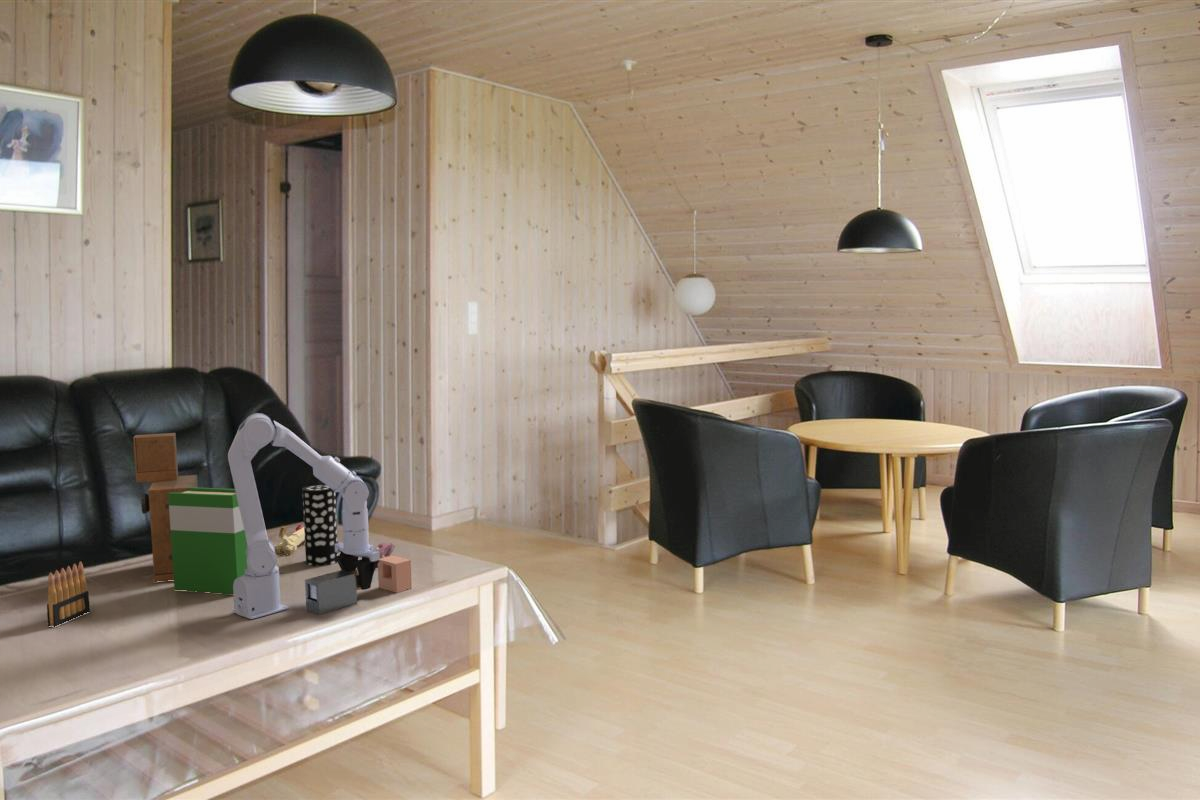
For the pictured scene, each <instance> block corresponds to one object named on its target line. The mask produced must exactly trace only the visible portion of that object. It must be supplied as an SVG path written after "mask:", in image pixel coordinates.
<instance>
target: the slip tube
mask: <svg viewBox="0 0 1200 800" xmlns="http://www.w3.org/2000/svg"><path fill="white" fill-rule="evenodd" d="M351 572H352V573H356V591H361V586H360V579H359V573H358V570H357V569H356V570H355V571H351ZM376 582H377V583H378V570H376V569H375V571H374V574H373V578H372V582H371V584H372V583H376ZM310 597H311V598H314V599H317V593H316V586H314V585H311V584H310Z"/></svg>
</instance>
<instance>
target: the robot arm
mask: <svg viewBox="0 0 1200 800" xmlns="http://www.w3.org/2000/svg"><path fill="white" fill-rule="evenodd" d="M273 423H274V424H273ZM269 443H270V444H271V446H273V447H283V448H286V449H287V450H288V451H290V452H291V453H292V454H294V455H295V456H297V457H299V459H301V460H303V462H305V463H306V464H308V465H309V466H310V467H312V472H313V473H312V475H313V476H314V477H315V478H316V479H318V480H319V481H320V482H322V483H323V485H327V486H328V487H330V488H331V489H332V490H334V491H335V493H339V494H340V496H341V497H342V510H341V514H342V518H341V519H342V535H343V536H342V537H343V538H342V539H343V541H341V542H338V543H337V544H335V552H338V553H339V554H338V556H335V560H336V561H337V562H336V563H337V564H338V566H339V568H340V570H345V571H349V572H351V571H355V570H358V573H359V579H360V586H361V590H362V591H365V590H368V589H369V590H370V589H371V587H372V583H371V582H372V578H373V574H374V571H375V570H376V568H377V567H378V566H377V564H378V563H379V560H380V556H379V552H378V551H376V550H375V549H374V545H373V544H370V536H369V534H370V533H369V513H368V512H369V510H368V507H367V505H368V501H367V499H368V498H369V495H370V491H369V489H368V485H367V484H366V483H365V481H363V479H362V478H360V476H359V475H357V473H356V471H354V470H349V469H348V468H347V467H346V466H344V465H343V464H342V463H341V460H340V458H339V457H338V456H335V457H333V456H331V455H320V454H319V453H318V452H317V451H316V450H314V448H312V447H311V446H309V445H308V444H307V443H306V442H305V441H303V440H302V439H301V438H300V437H299V436H298V435H296V434H295V433H294V432H292V430H290V429H289V428H288V427H286V426H284V425H282V424H281V423H279V422H277V421H276V420H273V421H272V420H271V418H270V417H269V416H268V415H266V414H264V413H261V412H259V413H258V412H255V413H252V414H250V415H249V416H247V418H246V419H245V420H243V422H242V423H240V424H239V426H238V429H237V432H236V434H235V436H234V439H233V441H232V443H231V446H230V447H229V450H228V453H227V460H228V465H229V468H230V473H231V478H232V482H233V486H234V487H233V488H234V489H235V491H236V496H237V500H238V504H239V509H240V513H241V518H242V522H243V526H244V531H245V535H246V540H247V548H246V557H247V566H248V567H247V569H245V574H244V575H243V576H241V577H239V578H236V579H235V581H234V584H233V594H234V595H233V608H234V609H233V610H232V613H233V614H235V613H236V615H238V616H241V617H244V618H246V619H249V620H255V619H258V618H261V617H264V616H268V615H272V614H275V613H280V612H283V611H285V610H288V609H289V608H290V607H289V606H288V605H285V604H282V603H281V588H280V587H281V585H280V584H281V583H280V567H279V566H277V563H278V556H277V554H276V553H275V547H274V545H275V544H274V543H273V542H272V540H270V538H269V536H268V534H267V533H268V532H267V529H266V524H265V520H264V515H263V510H262V506H261V501H260V498H259V492H258V489H257V483H256V480H255V475H254V471H253V466H252V463H251V462H252V460H253V459H254V457H255V456H256V455H257V454H258V452H259V450H261V449H263V448H264V447H265V446H267V445H268V444H269ZM359 558H360V559H359ZM361 590H360V591H361Z"/></svg>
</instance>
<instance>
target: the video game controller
mask: <svg viewBox="0 0 1200 800" xmlns="http://www.w3.org/2000/svg"><path fill="white" fill-rule="evenodd" d="M374 550H376V551H378V552H379V556H380V559H381V558H384V557H388V556H392V553H393V552H394V550H395V544H393V543H392V542H388V541H385V542H381V543H379V544H378V545H377V547H376V548H375V549H374ZM376 567H378V564H377V566H376Z"/></svg>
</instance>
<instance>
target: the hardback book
mask: <svg viewBox="0 0 1200 800" xmlns="http://www.w3.org/2000/svg"><path fill="white" fill-rule="evenodd" d="M168 498H169V514H170V529H171V545H172V560H173V576H174V581H173V586H174V587H173V588H174V590H187V591H194V592H193V593H196V592H195V591H197V592H210V593H222V594H221V595H224V594H233V584H234V581H235V579H236V578H239V577H241V576H243V575H244V574H245V569H247V567H248V566H247V557H246V548H247V540H246V535H245V531H244V526H243V522H242V518H241V513H240V509H239V504H238V500H237V496H236V491H235V488H220V487H219V488H216V487H213V488H212V487H198V488H197V487H188V488H186V492H182V493H174V492H170V493H168ZM210 593H209V594H210Z"/></svg>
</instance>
